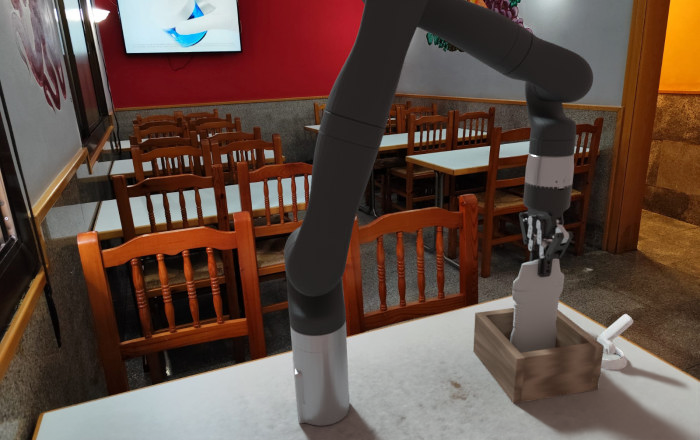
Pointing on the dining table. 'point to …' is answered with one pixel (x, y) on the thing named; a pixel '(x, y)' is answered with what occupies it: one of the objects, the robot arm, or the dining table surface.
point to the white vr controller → (609, 346)
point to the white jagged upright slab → (536, 307)
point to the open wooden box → (537, 358)
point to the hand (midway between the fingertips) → (539, 272)
